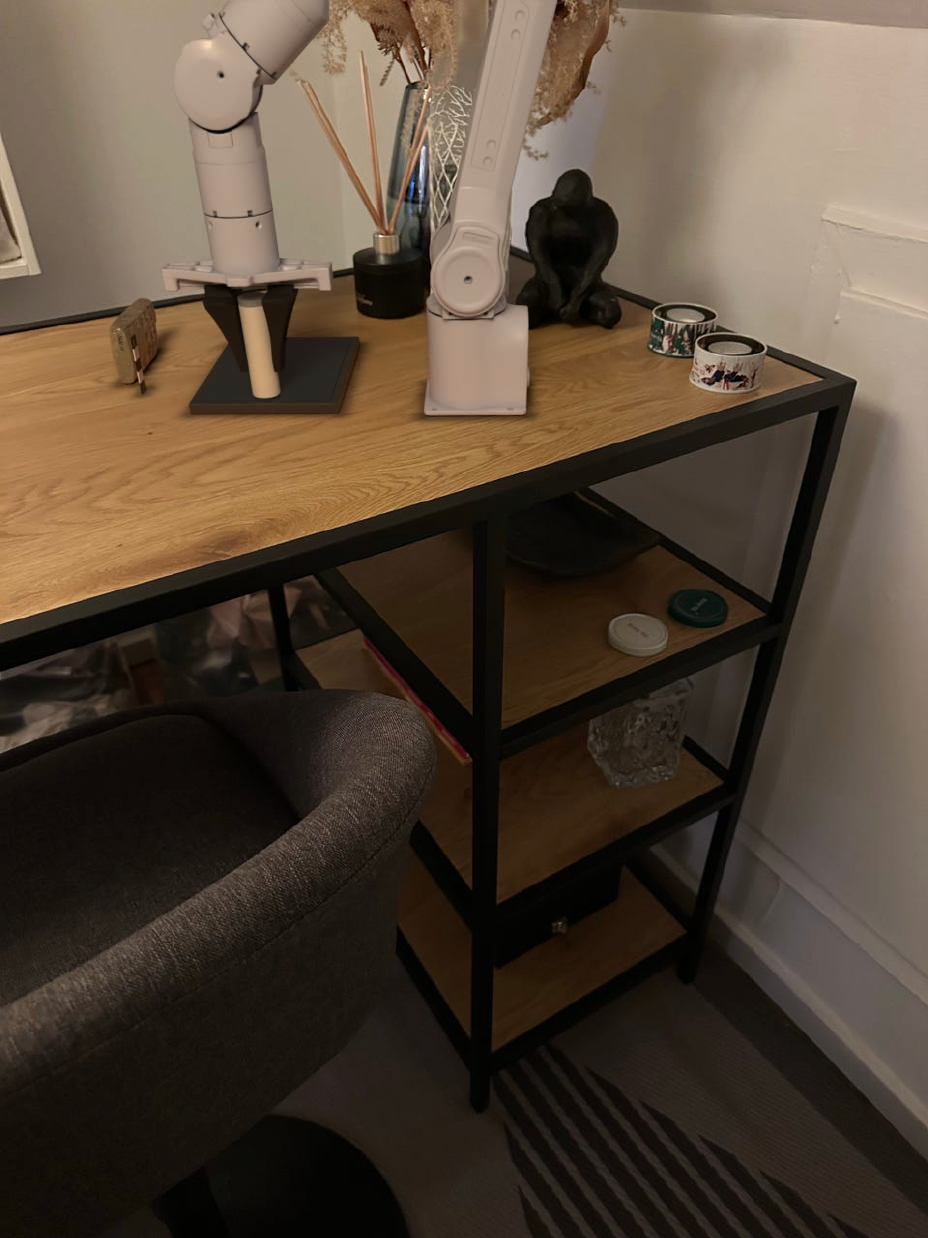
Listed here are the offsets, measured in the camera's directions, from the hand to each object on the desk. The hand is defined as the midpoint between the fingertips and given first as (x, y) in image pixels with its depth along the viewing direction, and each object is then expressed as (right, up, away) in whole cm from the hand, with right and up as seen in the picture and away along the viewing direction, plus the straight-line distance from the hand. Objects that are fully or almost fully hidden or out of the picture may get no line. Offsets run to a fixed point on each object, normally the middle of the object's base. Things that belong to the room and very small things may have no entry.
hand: (262, 368), depth 81 cm
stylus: (0, -2, +1) cm, 2 cm away
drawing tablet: (0, +1, +8) cm, 8 cm away
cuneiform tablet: (-15, +2, +10) cm, 18 cm away
